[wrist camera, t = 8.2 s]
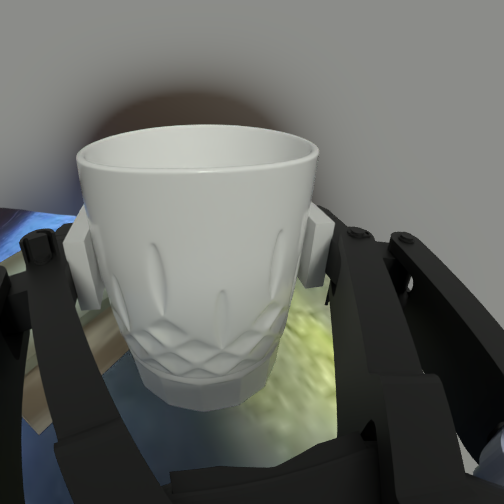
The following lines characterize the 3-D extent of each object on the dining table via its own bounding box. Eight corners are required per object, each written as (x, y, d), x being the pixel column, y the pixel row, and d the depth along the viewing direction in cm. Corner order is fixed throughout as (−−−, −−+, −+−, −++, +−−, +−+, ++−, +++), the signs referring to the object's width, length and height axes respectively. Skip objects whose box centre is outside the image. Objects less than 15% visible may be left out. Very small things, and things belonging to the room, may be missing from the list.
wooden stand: (-32, 360, 20) (-63, 303, 17) (59, 293, 31) (43, 237, 28) (38, 450, 15) (-12, 392, 12) (148, 343, 26) (134, 277, 23)
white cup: (110, 327, 16) (74, 139, 11) (236, 291, 20) (242, 121, 15) (157, 451, 10) (80, 193, 5) (319, 379, 14) (372, 158, 9)
